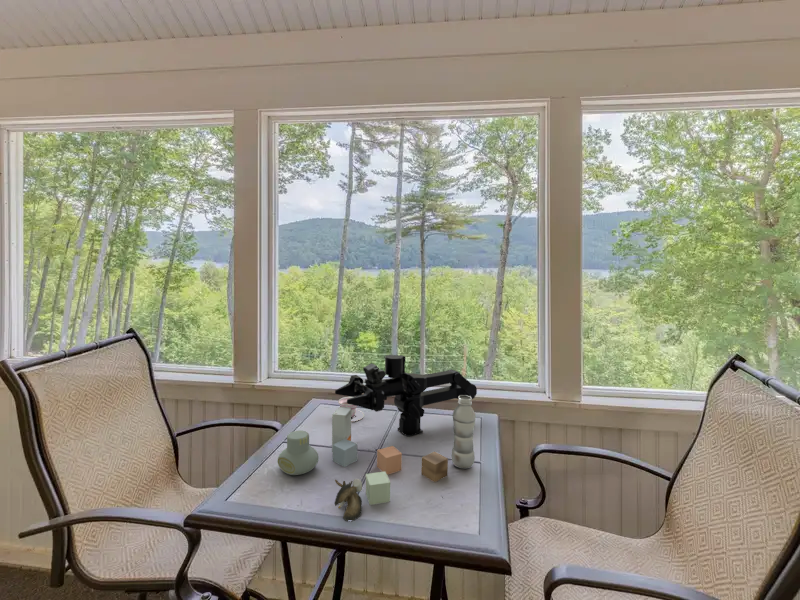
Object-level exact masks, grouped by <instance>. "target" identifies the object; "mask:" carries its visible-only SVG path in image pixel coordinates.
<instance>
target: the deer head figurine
mask: <svg viewBox="0 0 800 600" xmlns="http://www.w3.org/2000/svg"><path fill="white" fill-rule="evenodd" d="M334 481H335V483H336V485H337V486H338V487H340V489H339V490H338V492H337V493H336V497H335V500H334V505H335V507H336V506H337V505H338V506H337V507H338V509H340V508H342V507H343V506H344V505H345V504H347V505H346V508H345V511H344V514H343V516H342V519H343V520H344V521H346V522H347V521H348V520H352V521H353V520H354V521H355V520H356V519H357V520H358V518H359V517H361V514H362V511H363V510H362V509H363V506H362V505H363V500H362V497H361V496H360V495H359V492H362V491H363V483H362V479H359V478H354V480H351V481H350V482H348V484H347V483H346V481H345V480H343V482H342V483H340V482H339V481H338V479H334Z"/></svg>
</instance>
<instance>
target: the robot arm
mask: <svg viewBox="0 0 800 600" xmlns="http://www.w3.org/2000/svg"><path fill="white" fill-rule="evenodd" d="M405 368H406V356H405V355H398V354H387V355H385V356H384V370H383V369H380V367H378V366H377V364H374V363H369V364H367V365H366V366H364V367H362V370H363V372H364V375H365V376H366V379H363V378H362V377H361V376H359V375H357V374H353V375H350V378H349V381H348V383H346V384H344V385H342V386H340V387H339V388H337V389H335V390H334V393H335V394H336V395H339V396H344V397H353V398H350V399H348V400H347V403H348V404H351V405H355V406H357V407H360V408H363V409H366V410H370V411H375V412H381V411H383V409H384V408H385V401H387V400H388V398H391V397H394V398H393V404H394V406H395V407H396V408H397V411H398V412H401V413H400V417H399V418H398V419H399V420H398V427H397V431H399V432H400V433H401V434H403V436H406V437H410V436H414V435H418V434H423V432H424V431H423V430H422V429H421V418H422V417H424V414H425V408H423V407H424V406H428V405H433V404H436V403H442V402H446V401H450V400H454V399H456V400H458V397H459V396H460V395H467V396H470V397H471V401H472V400H474V399H475V397H476V396H477V393H478V389H477V386H476V384H474V383H472V382H470V381H469V380H468V379H467V378H465V377H464V376H463V374H461V373H460V372H459V371H457V370H455V369H448V370H444V371H438V372H432V373H425V374H421V373H420V374H419V373H413V372H411V373H410V372H408V373H407V372H406V369H405ZM386 376H387V377H388V378H386V379H384V377H386ZM364 383H365V384H364ZM448 384H449V386H444V387H439V386H443V385H448ZM432 387H439V388H435V389H429V388H432ZM427 389H429V390H427Z"/></svg>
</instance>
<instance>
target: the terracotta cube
mask: <svg viewBox="0 0 800 600" xmlns="http://www.w3.org/2000/svg"><path fill="white" fill-rule="evenodd" d="M402 453H403V452H401V451H400V450H398V448H396V447H395V446H393V445H391V446H387V447H384V448H379V449H377V450H376V467H377V468H378V469H379V471H380V472H384V471H385V472H386V474H387V476H389V475H391V474H394V473H397V472H401V471H402V470H403V469H402V468H403V467H402V464H403V463H402V461H403V459H402V458H403V456H402V455H403V454H402Z"/></svg>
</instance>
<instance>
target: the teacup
mask: <svg viewBox="0 0 800 600" xmlns="http://www.w3.org/2000/svg"><path fill="white" fill-rule="evenodd" d="M350 398H353V397H351V396H344V397H342V398H340V399H338V402H337V403H338V405H339V407H342V408H351V417H352V418H354V417H355V416H354V415H355V414H356V410H358V409H357V407H358V406H355V405H351V404H348V403H347V400H348V399H350ZM358 411H360V412H362V414H363V417H364V418H365V413H364V412H363V411H361V410H358ZM363 417H362V418H363ZM362 418H360V419H358V420H359V421H361V420H363V419H364V418H363V419H362ZM358 420H356V422H359V421H358ZM351 423H355V421H351Z"/></svg>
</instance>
